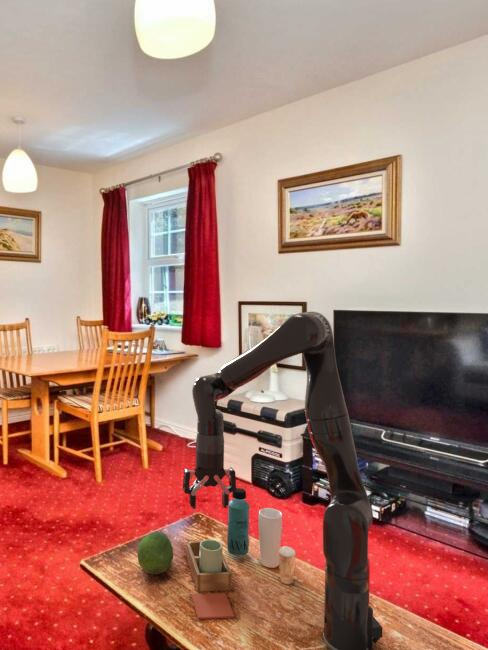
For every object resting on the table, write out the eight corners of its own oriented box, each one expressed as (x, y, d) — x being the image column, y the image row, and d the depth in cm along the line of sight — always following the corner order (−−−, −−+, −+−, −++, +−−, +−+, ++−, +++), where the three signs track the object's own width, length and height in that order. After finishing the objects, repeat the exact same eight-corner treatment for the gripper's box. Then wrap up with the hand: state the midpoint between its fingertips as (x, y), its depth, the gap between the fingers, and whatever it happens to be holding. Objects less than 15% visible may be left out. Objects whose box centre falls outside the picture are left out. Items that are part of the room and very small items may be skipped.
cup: (218, 574, 137) (219, 539, 136) (224, 587, 131) (224, 550, 130) (197, 575, 136) (198, 539, 136) (201, 588, 130) (202, 551, 130)
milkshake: (291, 589, 130) (292, 552, 130) (274, 580, 134) (275, 544, 134) (301, 583, 133) (302, 546, 132) (284, 574, 137) (285, 539, 137)
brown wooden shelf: (216, 555, 147) (216, 540, 147) (231, 590, 129) (231, 573, 129) (186, 556, 146) (186, 541, 146) (197, 591, 129) (197, 575, 128)
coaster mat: (225, 594, 127) (225, 592, 127) (234, 617, 118) (234, 615, 118) (191, 596, 127) (191, 594, 127) (197, 619, 118) (197, 617, 118)
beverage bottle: (222, 552, 148) (223, 487, 147) (240, 548, 151) (241, 483, 150) (235, 563, 142) (236, 495, 142) (253, 558, 145) (254, 491, 144)
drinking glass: (282, 571, 138) (283, 519, 138) (258, 568, 140) (258, 516, 139) (280, 558, 145) (281, 508, 144) (257, 556, 146) (258, 506, 146)
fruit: (147, 551, 148) (147, 519, 148) (179, 556, 146) (179, 523, 145) (131, 579, 134) (132, 543, 134) (167, 585, 131) (167, 548, 131)
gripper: (186, 453, 128) (186, 514, 129) (239, 452, 130) (238, 512, 130) (181, 444, 136) (180, 502, 136) (231, 443, 137) (230, 500, 138)
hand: (209, 507), depth 133 cm, fingers open, 8 cm apart
